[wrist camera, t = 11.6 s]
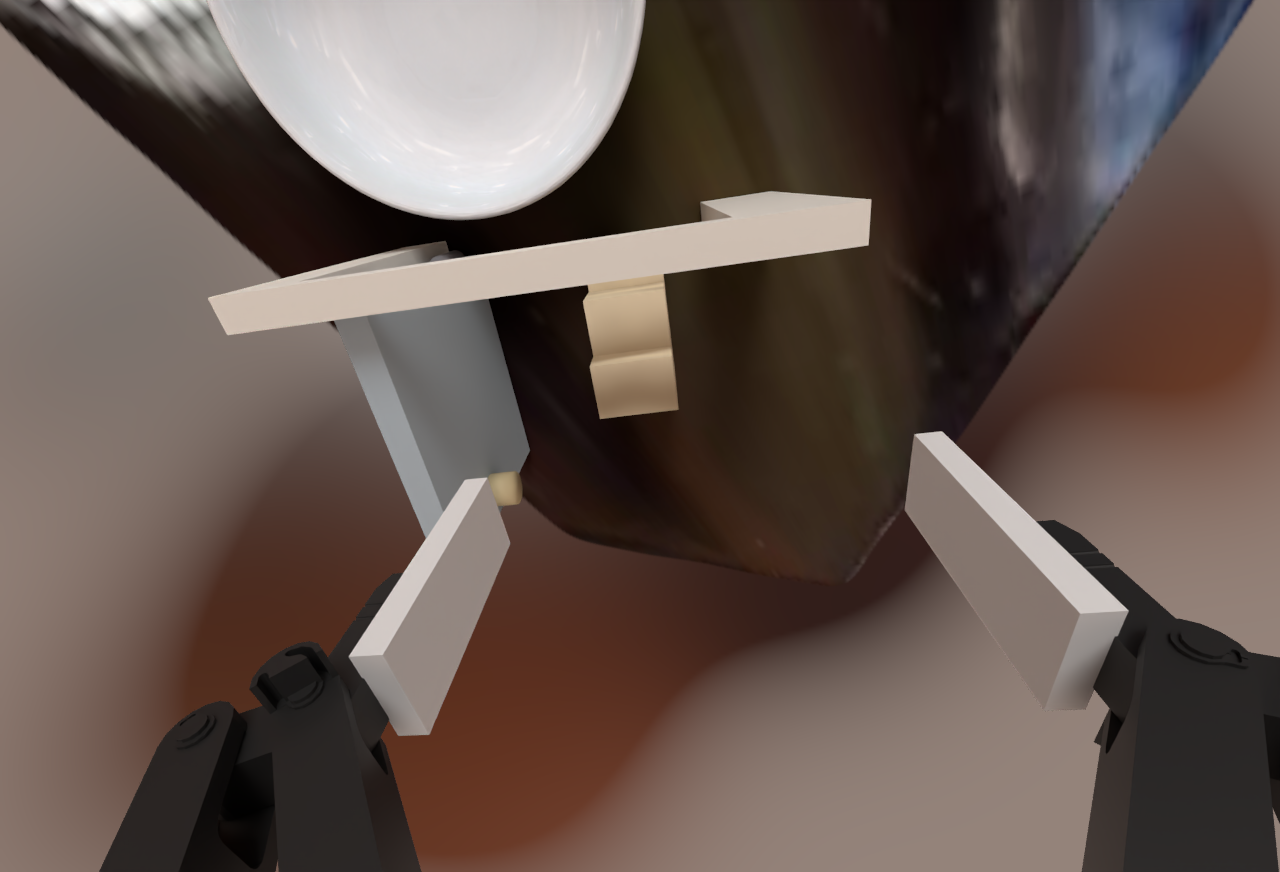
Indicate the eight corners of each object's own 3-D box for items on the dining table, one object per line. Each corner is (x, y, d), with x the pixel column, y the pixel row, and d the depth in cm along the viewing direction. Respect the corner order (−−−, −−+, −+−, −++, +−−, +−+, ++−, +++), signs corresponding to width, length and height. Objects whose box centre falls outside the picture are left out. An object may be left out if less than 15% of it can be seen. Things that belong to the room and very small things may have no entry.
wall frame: (770, 191, 32) (871, 199, 17) (771, 216, 33) (868, 245, 18) (404, 247, 34) (207, 297, 19) (412, 269, 35) (227, 335, 20)
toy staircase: (585, 238, 34) (567, 254, 27) (657, 228, 34) (658, 240, 26) (610, 375, 38) (600, 419, 31) (674, 367, 38) (678, 409, 31)
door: (548, 448, 41) (496, 575, 28) (512, 452, 41) (443, 580, 28) (496, 242, 34) (391, 281, 20) (453, 248, 34) (321, 291, 21)
